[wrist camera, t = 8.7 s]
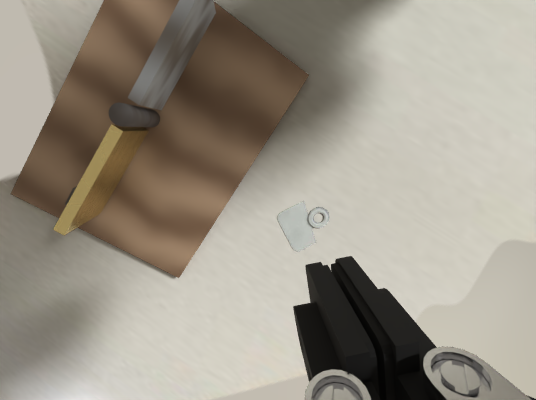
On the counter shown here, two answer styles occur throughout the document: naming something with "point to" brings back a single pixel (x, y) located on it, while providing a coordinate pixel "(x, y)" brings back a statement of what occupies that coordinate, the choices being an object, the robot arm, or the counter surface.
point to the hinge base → (162, 122)
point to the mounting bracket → (301, 225)
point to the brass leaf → (101, 176)
